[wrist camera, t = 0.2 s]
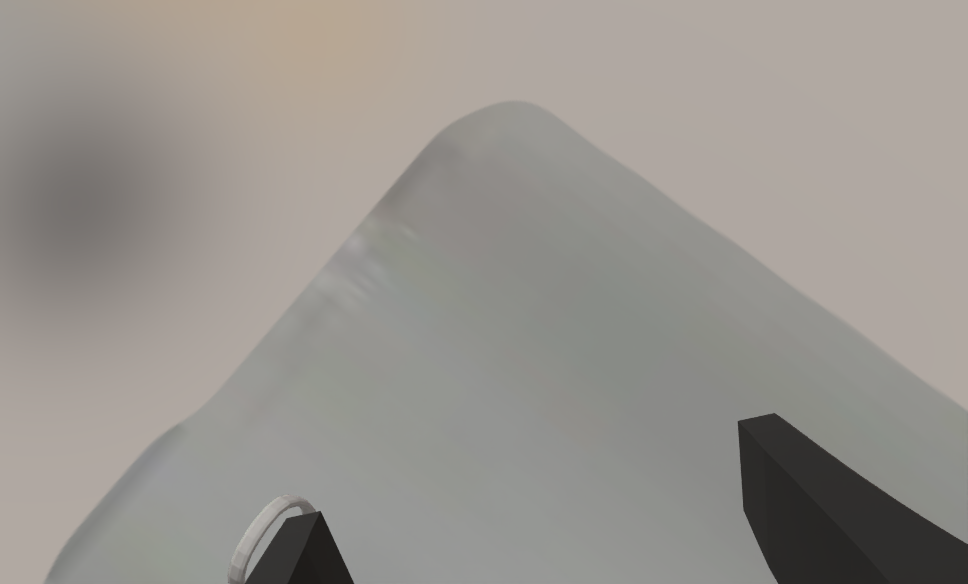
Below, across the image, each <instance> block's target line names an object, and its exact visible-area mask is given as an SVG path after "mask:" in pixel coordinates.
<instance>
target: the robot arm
mask: <svg viewBox="0 0 968 584" xmlns="http://www.w3.org/2000/svg"><path fill="white" fill-rule="evenodd" d="M738 431H739V447H740V462H741V477H742V493H743V508H744V512H745V514H746V517H747V519H748V521H749V524H750V526H751V528H752V530H753V533H754V535H755V537H756V540H757V542H758V544H759V546H760V549H761V551H762V553H763V555H764V557H765V560H766V562H767V564H768V566H769V568H770V570H771V572H772V573H773V575H774V577H775V579H776V580H777V582H778V584H968V544H966V543H965V542H963V541H961V540H959V539H958V538H956V537H954V536H953V535H951V534H950V533H948V532H946V531H945V530H943V529H941V528H940V527H938V526H937V525H935V524H933V523H932V522H930V521H928V520H927V519H925V518H924V517H922V516H920V515H919V514H917V513H916V512H914V511H913V510H911V509H909V508H908V507H906V506H905V505H903V504H902V503H900V502H899V501H897V500H896V499H894V498H893V497H891V496H890V495H888V494H887V493H885V492H884V491H882V490H881V489H879V488H878V487H877V486H875V485H874V484H872V483H871V482H869V481H868V480H866V479H865V478H863V477H862V476H860V475H859V474H858V473H856V472H855V471H853V470H852V469H850V468H849V467H848V466H846V465H845V464H843V463H842V462H841V461H839V460H838V459H837V458H835V457H834V456H832V455H831V454H830V453H828V452H827V451H826V450H824V449H823V448H821V447H820V446H819V445H817V444H816V443H815V442H813V441H812V440H811V439H809V438H808V437H807V436H805V435H804V434H803V433H801V432H800V431H799V430H797V429H796V428H795V427H793V426H792V425H791V424H789V423H788V422H787V421H785V420H784V419H783V418H781V417H780V416H778V415H777V414H775V413H773V414H768V415H764V416H759V417H754V418H750V419H745V420H740V421H738ZM245 584H354V582H353V580H352V578H351V576H350V574H349V572H348V569H347V567H346V565H345V563H344V561H343V559H342V556H341V554H340V552H339V550H338V548H337V546H336V543H335V541H334V539H333V537H332V535H331V532H330V530H329V528H328V526H327V524H326V522H325V519H324V517H323V515H322V513H321V511H318V512H314V513H309V514H304V515H300V516H295V517H290V518H287V519H286V520H285V522H284V523H283V525H282V526H281V528H280V529H279V531H278V532H277V534H276V535H275V537H274V538H273V540H272V541H271V543H270V544H269V546H268V548H267V549H266V551H265V552H264V554H263V555H262V557H261V559H260V560H259V562H258V563H257V565H256V566H255V568H254V570H253V571H252V573H251V574H250V576H249V577H248V579H247V580H246V582H245Z"/></svg>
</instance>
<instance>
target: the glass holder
mask: <svg viewBox="0 0 968 584" xmlns="http://www.w3.org/2000/svg"><path fill="white" fill-rule="evenodd" d="M296 506H298V507H300V508H301V510H302V514H303V515H304V514H309V513H314V512H316V511H315V509H314V508H313V506H312V505H311V504H310V503H309V502H308V501H307V500H305V499H303V498H301V497H297V496H292V495H284V496H280V497H277V498H276V499H275V500H273V501H272V502H271V503H269V504H268V505H267V506H266V507H265V508H264V509H263V510H262V511H261V513H260V514H259V515H258V516H257V517H256V518H255V520H254V521H253V522H252V524H251V525H250V527H249V528H248V530H247V531H246V533H245V534H244V536H243V538H242V539H241V541H240V543H239V544H238V546H237V548H236V550H235V553H234V555H233V557H232V560H231V562H230V567H229V571H228V583H229V584H245V582H246V581H245V573H246V569H247V565H248V563H249V560H250V558H251V555H252V553H253V552H254V550H255V548H256V546H257V545H258V543H259V541H260V540H261V538H262V537H263V535H264V534H265V532H266V531H267V529H268V528H269V527H270V525H271V524H272V523H273V522H274V521H275V519H276V518H277V517H278V516H279V515H280V514H282V513H283V512H284V511H286V510H287V509H288V508H292V507H296Z"/></svg>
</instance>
